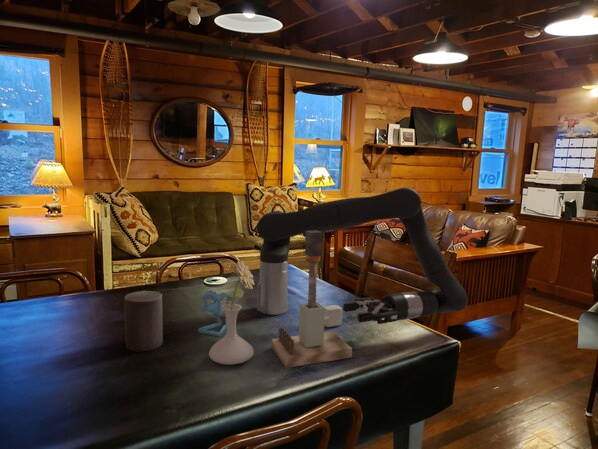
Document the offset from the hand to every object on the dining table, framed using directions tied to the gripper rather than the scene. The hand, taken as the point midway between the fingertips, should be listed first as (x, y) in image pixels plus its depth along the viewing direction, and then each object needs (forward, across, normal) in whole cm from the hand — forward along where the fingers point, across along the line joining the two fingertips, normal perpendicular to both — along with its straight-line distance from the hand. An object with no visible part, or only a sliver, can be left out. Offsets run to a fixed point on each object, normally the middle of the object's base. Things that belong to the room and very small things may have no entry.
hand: (350, 312), depth 120 cm
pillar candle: (+52, -19, +9) cm, 57 cm away
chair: (+32, -24, +10) cm, 41 cm away
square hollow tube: (+11, 0, +7) cm, 13 cm away
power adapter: (+1, -16, +10) cm, 19 cm away
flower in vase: (+31, -4, +10) cm, 33 cm away
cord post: (+11, 0, +10) cm, 15 cm away
